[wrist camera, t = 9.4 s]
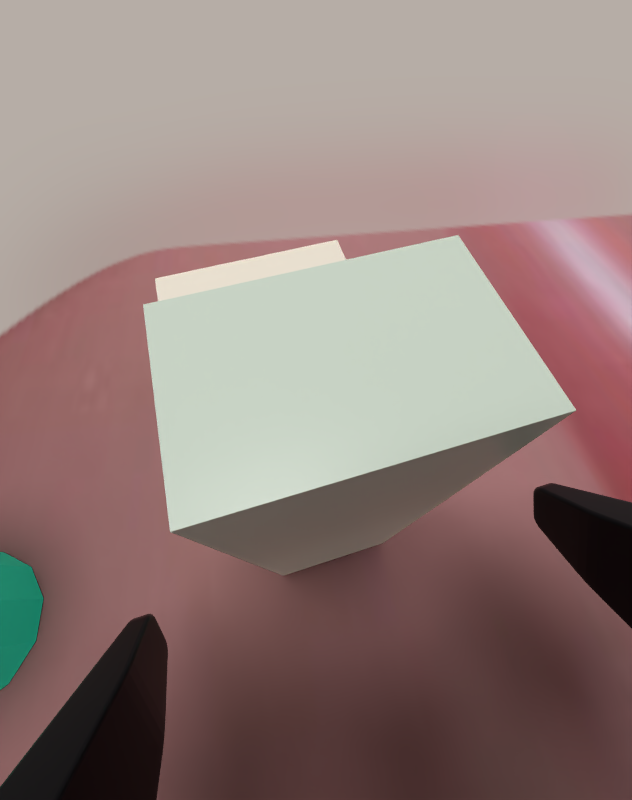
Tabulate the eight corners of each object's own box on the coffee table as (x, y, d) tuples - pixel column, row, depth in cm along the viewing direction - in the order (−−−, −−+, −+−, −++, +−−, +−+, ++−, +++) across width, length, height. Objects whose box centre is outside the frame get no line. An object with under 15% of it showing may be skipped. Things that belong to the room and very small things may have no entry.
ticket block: (366, 361, 21) (375, 321, 18) (191, 406, 20) (167, 372, 17) (334, 285, 24) (336, 238, 21) (177, 321, 23) (154, 277, 20)
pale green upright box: (382, 543, 17) (576, 410, 4) (283, 575, 16) (171, 531, 4) (359, 478, 18) (456, 232, 6) (266, 506, 18) (142, 301, 5)
